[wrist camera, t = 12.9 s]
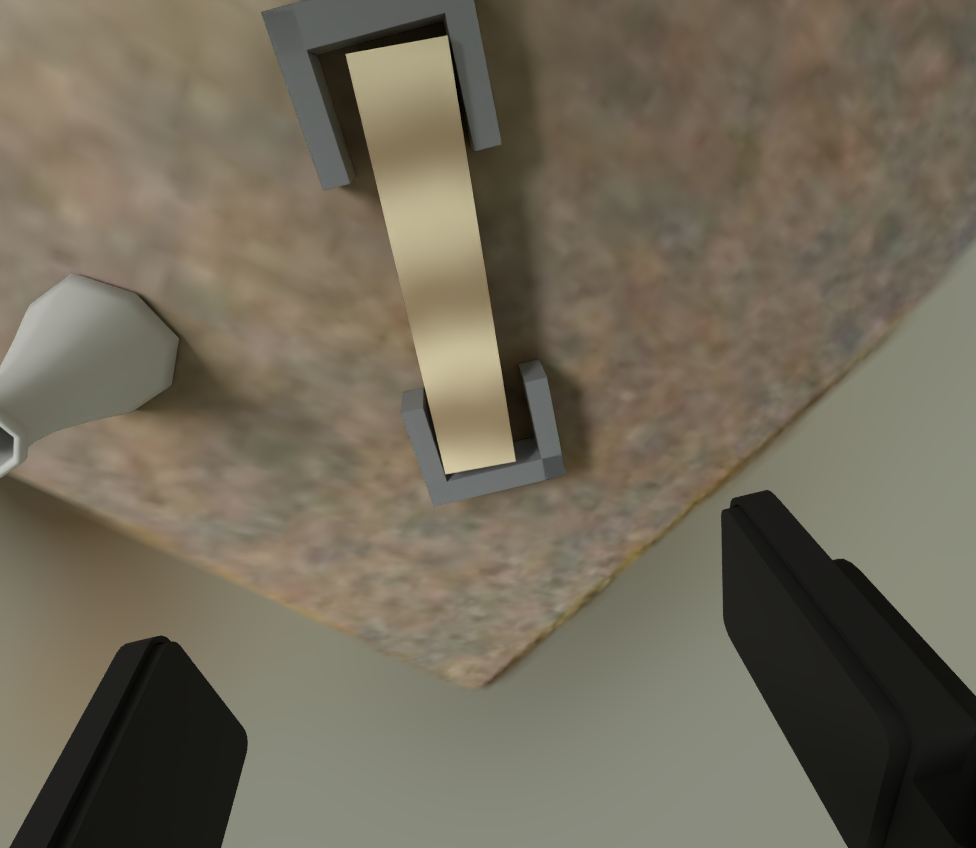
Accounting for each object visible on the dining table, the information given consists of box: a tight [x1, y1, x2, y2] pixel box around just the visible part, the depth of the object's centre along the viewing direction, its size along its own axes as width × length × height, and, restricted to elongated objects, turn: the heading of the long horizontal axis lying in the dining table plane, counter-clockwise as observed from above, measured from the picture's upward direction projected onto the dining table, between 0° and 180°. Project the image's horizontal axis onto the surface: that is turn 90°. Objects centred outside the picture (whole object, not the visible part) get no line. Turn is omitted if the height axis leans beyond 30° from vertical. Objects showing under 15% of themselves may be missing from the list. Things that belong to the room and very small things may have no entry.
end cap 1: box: [261, 0, 502, 191], centre depth 24 cm, size 6×8×2 cm
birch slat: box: [346, 36, 516, 474], centre depth 29 cm, size 20×4×4 cm, turn 9°
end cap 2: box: [401, 359, 566, 506], centre depth 33 cm, size 6×8×2 cm
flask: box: [0, 273, 179, 478], centre depth 26 cm, size 7×7×10 cm
